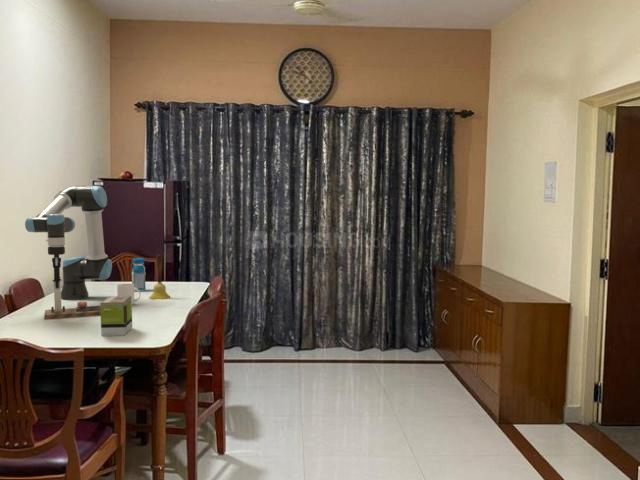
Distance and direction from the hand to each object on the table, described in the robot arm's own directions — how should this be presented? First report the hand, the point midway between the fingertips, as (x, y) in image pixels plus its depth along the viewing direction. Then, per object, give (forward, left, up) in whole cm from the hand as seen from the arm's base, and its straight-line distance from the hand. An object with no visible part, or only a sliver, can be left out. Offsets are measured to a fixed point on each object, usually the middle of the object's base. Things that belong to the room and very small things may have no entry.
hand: (57, 294), depth 290 cm
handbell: (+17, +63, -11) cm, 67 cm away
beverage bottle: (-9, +81, -11) cm, 83 cm away
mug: (+13, +39, -11) cm, 43 cm away
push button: (+7, +9, -7) cm, 13 cm away
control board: (+8, +9, -11) cm, 16 cm away
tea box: (+47, -19, -11) cm, 52 cm away
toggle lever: (-1, +2, -8) cm, 8 cm away
